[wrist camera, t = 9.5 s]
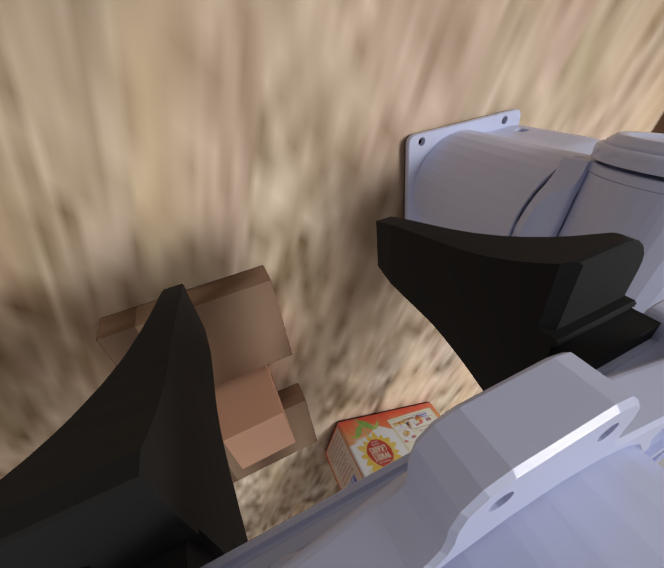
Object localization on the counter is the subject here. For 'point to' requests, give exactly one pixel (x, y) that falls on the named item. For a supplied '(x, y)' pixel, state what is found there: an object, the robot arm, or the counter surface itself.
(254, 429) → the terracotta plug
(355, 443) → the cracker box
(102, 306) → the counter surface
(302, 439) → the notched board
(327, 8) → the counter surface
